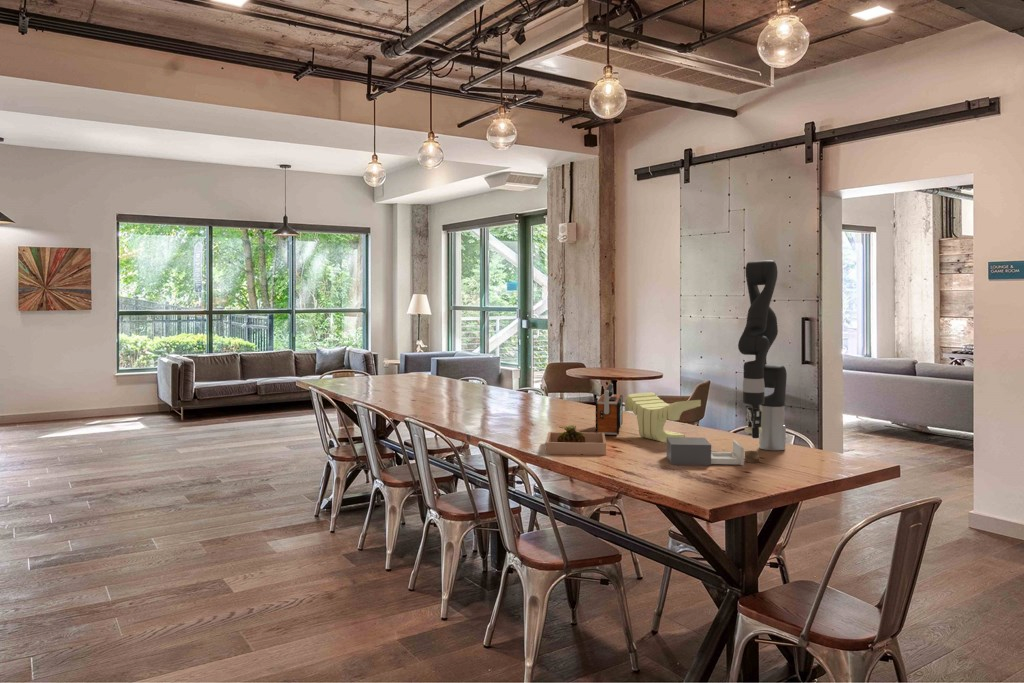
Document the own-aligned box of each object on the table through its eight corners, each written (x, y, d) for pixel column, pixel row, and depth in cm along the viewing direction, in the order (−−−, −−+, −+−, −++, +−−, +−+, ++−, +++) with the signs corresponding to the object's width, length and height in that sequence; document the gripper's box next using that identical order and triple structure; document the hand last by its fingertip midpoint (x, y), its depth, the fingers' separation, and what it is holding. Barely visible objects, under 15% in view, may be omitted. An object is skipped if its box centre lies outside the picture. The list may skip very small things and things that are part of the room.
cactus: (556, 444, 308) (556, 420, 308) (594, 446, 303) (594, 422, 303) (544, 452, 292) (544, 427, 292) (584, 454, 287) (584, 429, 286)
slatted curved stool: (624, 434, 328) (624, 394, 327) (652, 431, 336) (653, 392, 335) (670, 446, 302) (671, 402, 301) (700, 442, 310) (700, 399, 309)
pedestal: (757, 460, 275) (757, 450, 275) (760, 463, 270) (760, 453, 270) (743, 459, 276) (743, 450, 275) (746, 462, 271) (746, 453, 270)
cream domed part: (759, 430, 275) (759, 426, 275) (763, 434, 269) (763, 429, 269) (743, 430, 276) (743, 426, 276) (746, 434, 270) (746, 429, 270)
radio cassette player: (618, 437, 323) (618, 391, 322) (594, 436, 325) (594, 390, 324) (622, 426, 351) (622, 383, 350) (600, 425, 354) (600, 383, 352)
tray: (735, 457, 279) (735, 440, 279) (743, 465, 265) (743, 447, 265) (697, 456, 281) (697, 440, 280) (703, 464, 267) (703, 447, 266)
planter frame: (604, 443, 308) (604, 432, 308) (606, 454, 285) (606, 443, 285) (548, 442, 310) (548, 432, 310) (545, 453, 287) (545, 442, 287)
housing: (705, 457, 281) (705, 437, 280) (711, 465, 266) (711, 445, 266) (666, 456, 282) (666, 437, 281) (670, 464, 268) (671, 444, 267)
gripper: (769, 393, 264) (768, 440, 265) (759, 387, 278) (759, 432, 279) (747, 393, 265) (747, 440, 266) (738, 387, 279) (738, 432, 280)
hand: (753, 436), depth 273 cm, fingers closed on cream domed part, 6 cm apart
